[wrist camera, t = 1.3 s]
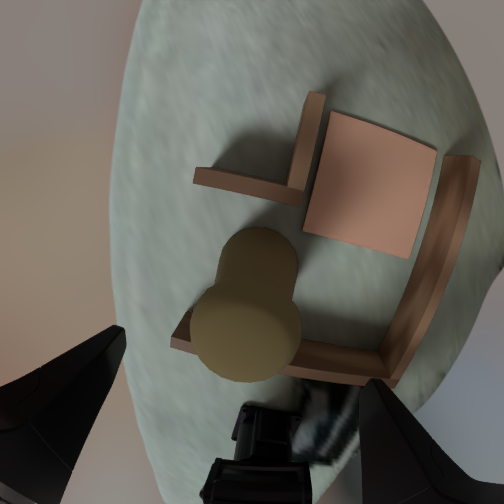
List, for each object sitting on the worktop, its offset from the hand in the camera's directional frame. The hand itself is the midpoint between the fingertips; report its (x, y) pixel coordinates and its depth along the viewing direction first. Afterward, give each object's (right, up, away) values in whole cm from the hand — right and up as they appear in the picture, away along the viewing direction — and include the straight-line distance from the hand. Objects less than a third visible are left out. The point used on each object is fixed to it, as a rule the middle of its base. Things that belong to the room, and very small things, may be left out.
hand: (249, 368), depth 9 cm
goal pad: (+9, +9, +10) cm, 16 cm away
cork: (+1, +3, +13) cm, 13 cm away
